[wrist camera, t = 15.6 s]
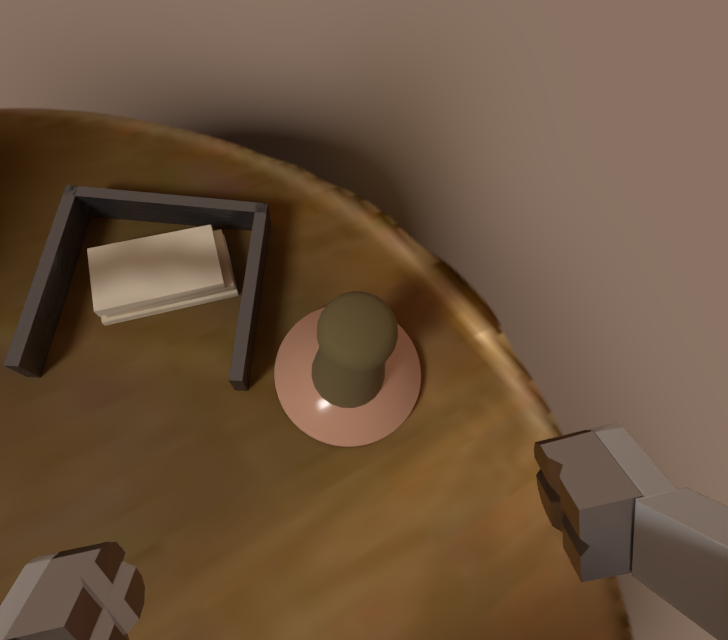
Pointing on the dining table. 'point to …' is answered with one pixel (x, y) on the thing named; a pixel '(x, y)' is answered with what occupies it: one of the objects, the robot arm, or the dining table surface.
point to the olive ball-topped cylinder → (353, 348)
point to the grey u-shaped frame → (140, 206)
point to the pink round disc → (332, 420)
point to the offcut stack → (160, 274)
